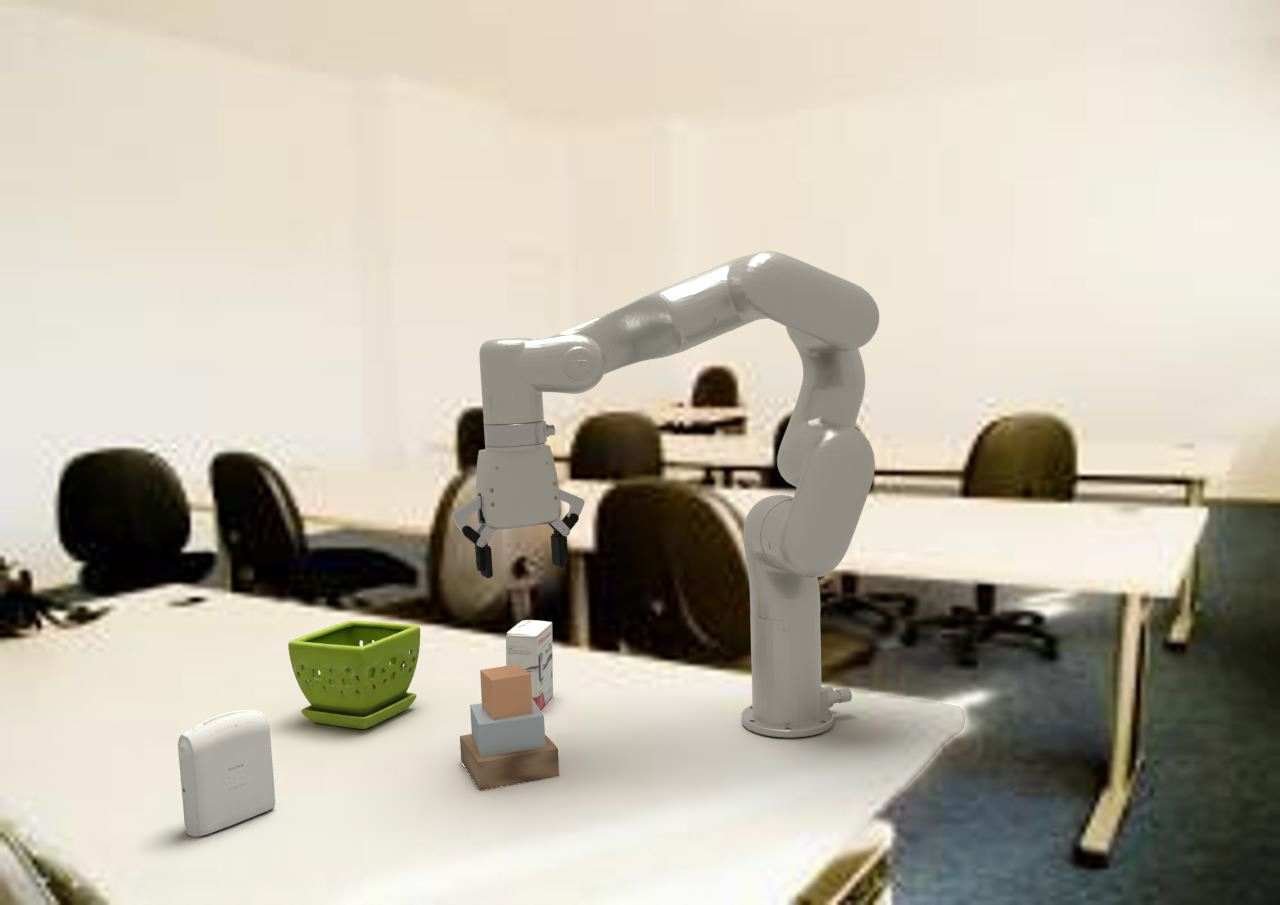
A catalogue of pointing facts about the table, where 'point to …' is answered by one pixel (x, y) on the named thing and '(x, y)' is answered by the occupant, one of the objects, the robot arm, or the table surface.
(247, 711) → the photo printer
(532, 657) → the ink box
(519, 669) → the terracotta cube
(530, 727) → the slate block
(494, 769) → the walnut slab
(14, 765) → the table surface
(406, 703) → the flower pot
